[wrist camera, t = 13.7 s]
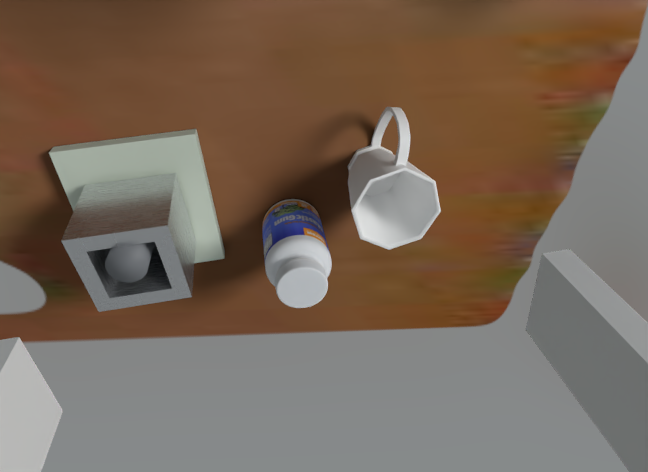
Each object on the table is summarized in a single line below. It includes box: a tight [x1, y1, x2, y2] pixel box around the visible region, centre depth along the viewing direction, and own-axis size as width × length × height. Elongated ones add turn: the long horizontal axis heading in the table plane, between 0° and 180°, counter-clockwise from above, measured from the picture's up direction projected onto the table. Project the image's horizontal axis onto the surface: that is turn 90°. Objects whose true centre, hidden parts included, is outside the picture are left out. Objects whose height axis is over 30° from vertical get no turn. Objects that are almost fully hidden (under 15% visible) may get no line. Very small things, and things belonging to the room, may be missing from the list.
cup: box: [347, 107, 441, 250], centre depth 38 cm, size 7×10×8 cm
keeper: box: [49, 129, 225, 282], centre depth 37 cm, size 12×11×9 cm
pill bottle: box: [262, 199, 332, 308], centre depth 40 cm, size 5×5×10 cm
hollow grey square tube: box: [61, 173, 196, 312], centre depth 37 cm, size 7×7×7 cm
